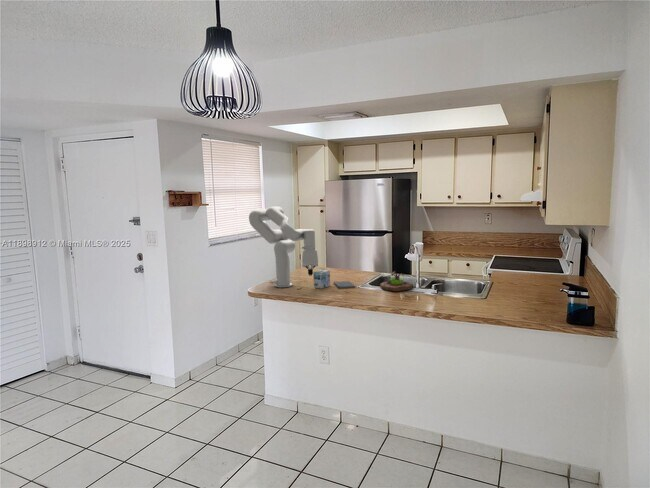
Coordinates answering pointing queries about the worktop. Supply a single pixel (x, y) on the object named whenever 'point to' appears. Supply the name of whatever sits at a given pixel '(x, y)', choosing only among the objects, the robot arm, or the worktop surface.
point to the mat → (344, 284)
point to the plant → (396, 283)
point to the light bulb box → (321, 278)
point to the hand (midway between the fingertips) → (310, 275)
